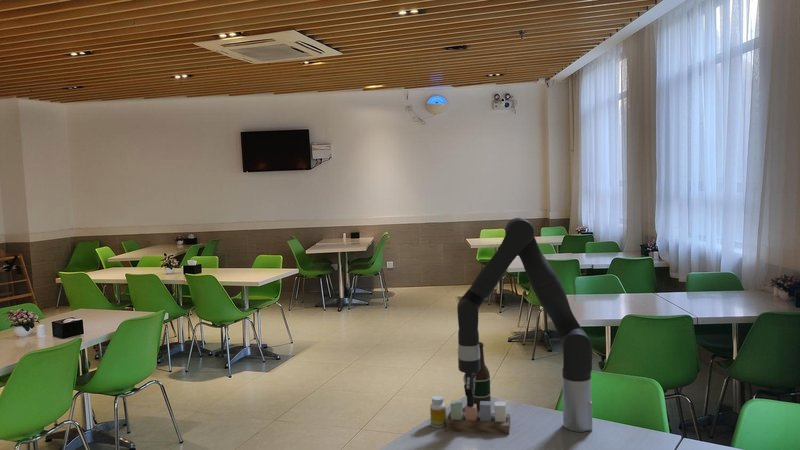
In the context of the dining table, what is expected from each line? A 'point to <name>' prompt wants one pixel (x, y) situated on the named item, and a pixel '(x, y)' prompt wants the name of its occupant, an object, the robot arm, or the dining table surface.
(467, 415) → the salmon pink block
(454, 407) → the key sage
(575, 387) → the robot arm
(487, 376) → the beer bottle
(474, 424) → the brown wooden slotted tray
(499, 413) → the key ivory
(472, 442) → the dining table surface
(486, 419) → the key slate
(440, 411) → the supplement bottle
